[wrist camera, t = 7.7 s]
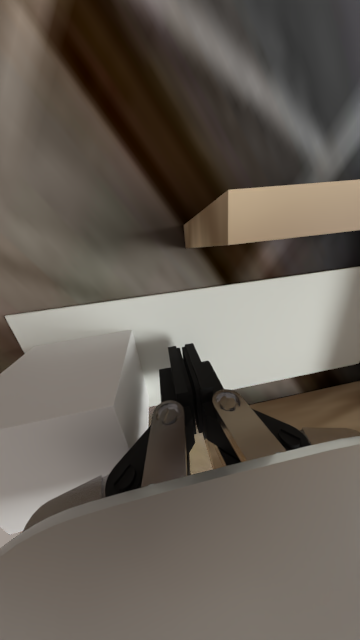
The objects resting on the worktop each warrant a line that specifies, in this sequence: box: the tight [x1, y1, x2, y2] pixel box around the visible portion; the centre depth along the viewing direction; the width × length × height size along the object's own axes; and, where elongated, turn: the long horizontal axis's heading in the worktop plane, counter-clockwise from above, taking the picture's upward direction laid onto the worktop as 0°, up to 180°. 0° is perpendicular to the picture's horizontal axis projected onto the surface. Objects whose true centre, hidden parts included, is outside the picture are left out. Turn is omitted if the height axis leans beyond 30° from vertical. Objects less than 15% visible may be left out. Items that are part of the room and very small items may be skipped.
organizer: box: [184, 180, 360, 469], centre depth 11 cm, size 16×18×6 cm
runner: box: [5, 266, 360, 407], centre depth 13 cm, size 26×9×1 cm, turn 96°
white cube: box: [0, 330, 149, 535], centre depth 9 cm, size 6×6×6 cm
